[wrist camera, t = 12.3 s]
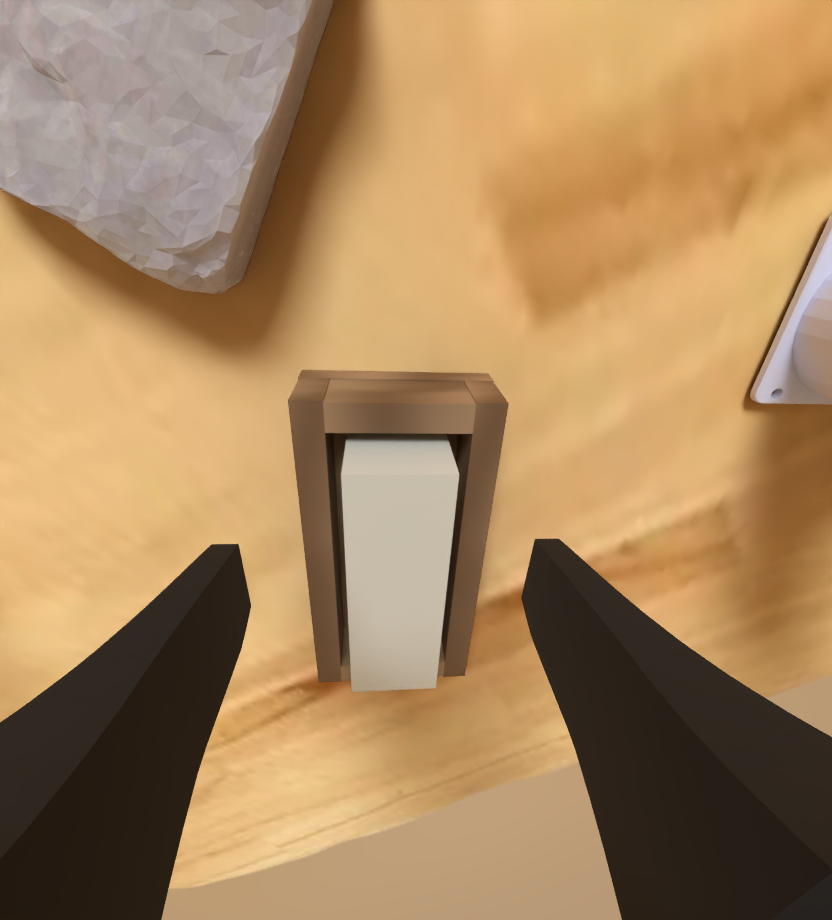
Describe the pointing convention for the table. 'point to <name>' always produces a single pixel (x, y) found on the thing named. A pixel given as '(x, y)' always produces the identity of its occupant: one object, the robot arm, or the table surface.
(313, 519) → the shallow brown tray
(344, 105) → the table surface
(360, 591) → the rectangular block
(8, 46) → the stone block
